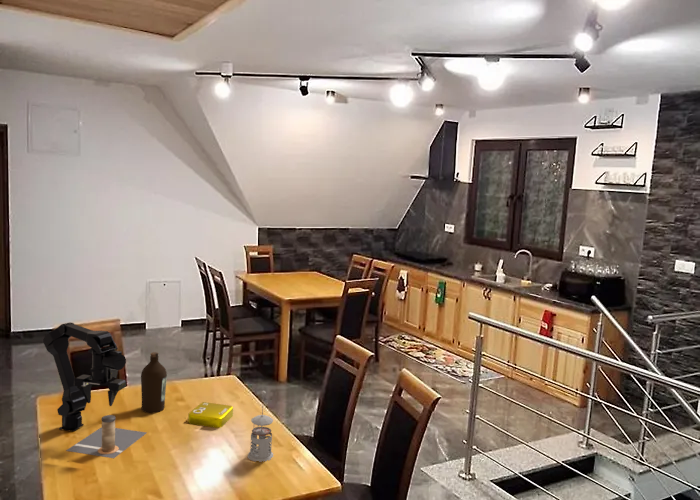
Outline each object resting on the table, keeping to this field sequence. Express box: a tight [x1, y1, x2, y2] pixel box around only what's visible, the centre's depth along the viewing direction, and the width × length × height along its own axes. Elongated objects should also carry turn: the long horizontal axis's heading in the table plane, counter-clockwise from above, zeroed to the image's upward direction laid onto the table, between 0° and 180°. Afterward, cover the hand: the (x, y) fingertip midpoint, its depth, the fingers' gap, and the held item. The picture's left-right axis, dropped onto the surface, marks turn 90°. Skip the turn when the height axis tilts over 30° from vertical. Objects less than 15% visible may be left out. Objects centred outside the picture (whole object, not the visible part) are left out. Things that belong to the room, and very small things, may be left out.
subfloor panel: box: [65, 426, 147, 459], centre depth 213 cm, size 19×22×2 cm
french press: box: [247, 390, 274, 463], centre depth 212 cm, size 10×12×25 cm
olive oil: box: [140, 351, 168, 414], centre depth 248 cm, size 11×11×25 cm
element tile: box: [187, 401, 234, 429], centre depth 242 cm, size 15×15×5 cm
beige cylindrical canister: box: [101, 414, 116, 452], centre depth 206 cm, size 5×5×12 cm
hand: (100, 404), depth 218 cm, fingers open, 9 cm apart
